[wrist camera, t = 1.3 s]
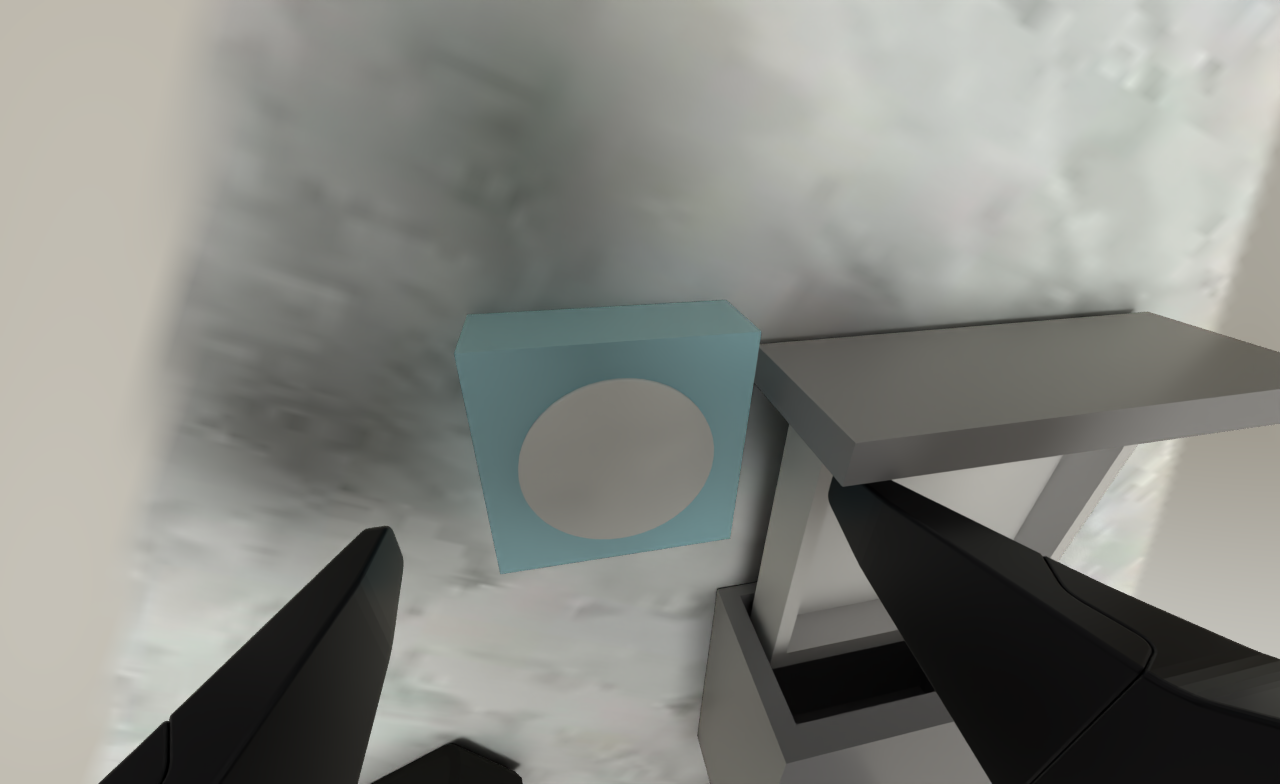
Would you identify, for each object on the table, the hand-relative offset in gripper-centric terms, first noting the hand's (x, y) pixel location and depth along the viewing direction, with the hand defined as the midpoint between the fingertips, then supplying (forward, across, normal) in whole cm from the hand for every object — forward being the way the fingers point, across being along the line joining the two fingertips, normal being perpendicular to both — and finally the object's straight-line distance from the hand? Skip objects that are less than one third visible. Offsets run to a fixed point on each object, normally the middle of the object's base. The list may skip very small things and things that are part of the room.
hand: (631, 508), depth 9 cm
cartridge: (+4, 0, 0) cm, 4 cm away
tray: (+3, -10, +4) cm, 11 cm away
